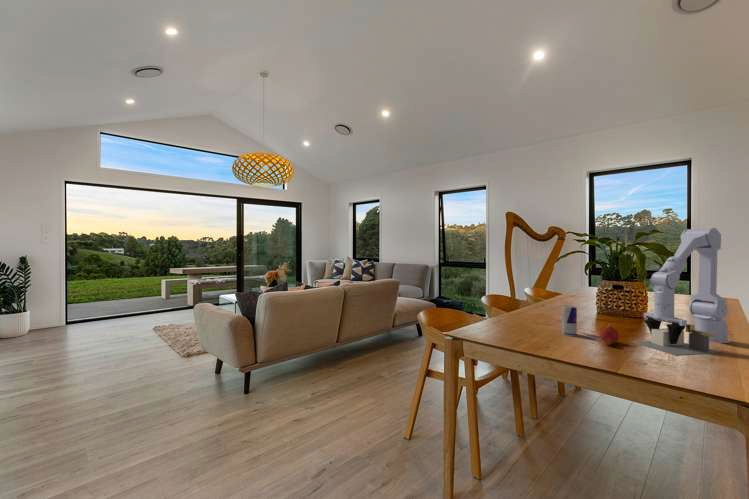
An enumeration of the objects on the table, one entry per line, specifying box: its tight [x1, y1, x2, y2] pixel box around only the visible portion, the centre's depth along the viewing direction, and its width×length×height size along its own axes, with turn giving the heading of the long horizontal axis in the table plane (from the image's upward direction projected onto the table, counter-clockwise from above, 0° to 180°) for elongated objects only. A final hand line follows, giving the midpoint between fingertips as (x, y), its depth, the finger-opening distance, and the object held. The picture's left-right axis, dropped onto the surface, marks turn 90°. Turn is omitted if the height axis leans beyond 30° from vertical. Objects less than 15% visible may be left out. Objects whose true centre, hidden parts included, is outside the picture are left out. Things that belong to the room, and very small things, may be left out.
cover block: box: [650, 327, 685, 346], centre depth 130 cm, size 9×4×5 cm, turn 100°
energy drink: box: [561, 304, 578, 337], centre depth 146 cm, size 5×5×12 cm
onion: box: [599, 323, 620, 346], centre depth 131 cm, size 6×6×8 cm
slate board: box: [629, 332, 721, 357], centre depth 126 cm, size 18×18×6 cm
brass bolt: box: [685, 323, 715, 337], centre depth 122 cm, size 2×8×3 cm, turn 10°
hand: (664, 341), depth 129 cm, fingers open, 6 cm apart
